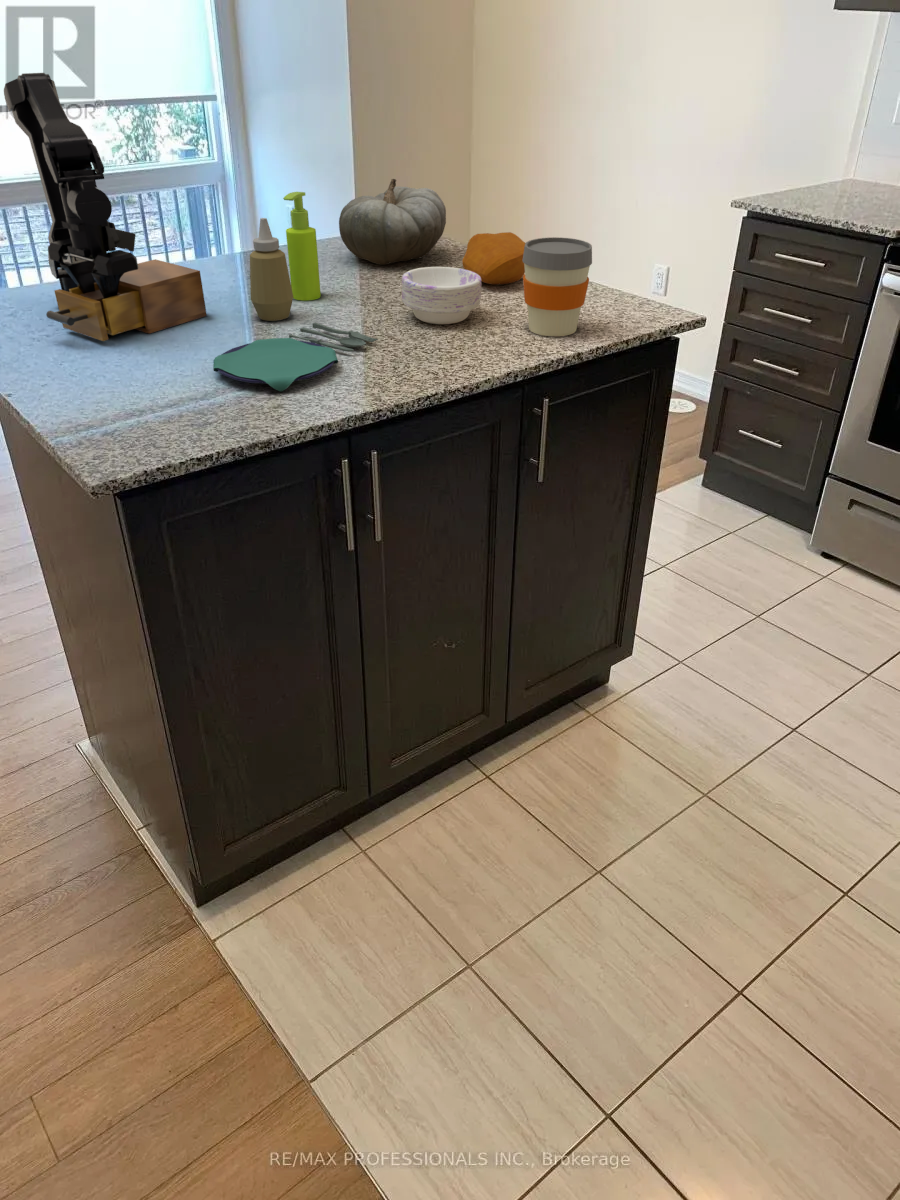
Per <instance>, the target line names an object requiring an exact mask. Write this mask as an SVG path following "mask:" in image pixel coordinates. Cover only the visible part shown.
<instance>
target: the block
mask: <svg viewBox="0 0 900 1200" xmlns="http://www.w3.org/2000/svg"><path fill="white" fill-rule="evenodd" d="M117 295H120V293H117ZM81 296H84V297H87V298H90V299H94V300H97V301H100V303H101V307H102V312H103V316H104V321H105V325H106V326H108V324H107V319H106V314H105V310H104V305H103V301H102V299H104V298H103V296H102V293H101V291H100V290H96V291H92V292H89V293H85V294H81Z"/></svg>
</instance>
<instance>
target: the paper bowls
mask: <svg viewBox="0 0 900 1200" xmlns="http://www.w3.org/2000/svg"><path fill="white" fill-rule="evenodd" d="M481 281H482V280H481V277H480V276H479V275H478V274H476V273H474V272H472V271H469V270H465V269H464V268H459V267H452V266H424V267H419V268H413V269H410V270H408V271H406V272H404V273H402V276H401V301H402V303H403V304H404V305H405V306H406V307H407V308H409V309H411V310H412V312H413V315H414V316H415V318H416V319H417V320H419V321H421V322H423V323H424V322H425V323H427V324H433V325H453V324H457V323H460V322H462V321H464V320H466V319H467V318H468V316H469V315H470V313H471V311H473V310H475V309H477V308H478V307H479V306H480V305H481V299H482V282H481Z"/></svg>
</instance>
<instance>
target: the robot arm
mask: <svg viewBox="0 0 900 1200" xmlns="http://www.w3.org/2000/svg"><path fill="white" fill-rule="evenodd" d="M3 96H4V100H5V103H6V107H7V109H8V111H9V112H12V116H13V119H14V122H15V124H16V125H17V126H18V127H19V129H21V131H22V132H23V133H24V134H25V135H26V136H27V137H28V140H29V142H30V146H31V150H32V153H33V157H34V161H35V164H36V165H35V166H36V167H37V172H38V175H39V179H40V182H41V186H42V189H43V194H44V196H45V200H46V203H47V208H48V211H49V213H50V214H49V215H50V218H51V225H50V230H49V233H48V237H47V239H48V244H49V245H48V246H47V260H48V266H49V269H50V272H51V275H52V276H53V277H54V278H55V279H56V280H59V285H60V289H61V290H64V291H68V292H70V291H69V289H72V288H76V287H79V288H80V290H81V291H82V293H83V294H85V293H89V292H92V291H95V287H94V283H97V285H98V287H99V289H100V291H101V293H102V296H103V298H104V299H105V298H109V297H113V296H117V293H118V286H119V281H120V278H121V277H122V275H123V274H124V273H126V272H129V271H133V270H137V269H138V263H139V262H138V257H137V256H135V255H134V254H133V253H131V252H135V244H136V233H135V232H132V231H131V232H130V231H126V230H121V229H117V228H116V225H115V223H114V222H110V221H108V220H110V217H111V216H112V211H113V205H112V202H111V200H110V198H109V196H108V195H107V194H106V193H105V192H104V191H103V190H101V189H99V188H98V186H97V182H96V181H98V180H105V175H104V173H105V166H104V164H103V160H102V158H101V156H100V154H99V151H98V149H97V146H96V145H94V142H93V140H92V139H91V138H88V136H87V134H86V133H85V131H84V129H83V128H82V127H81V126H80V125H79V124H76V123H74V122H72V121H70V119H69V118H68V116H67V114H66V112H65V110H64V108H63V106H62V104H61V102H60V97H59V94H58V90H57V87H56V83H55V81H54V79H52V78H51V76H50V74H49V73H45V72H29V73H27V72H25V73H21V74H20V75H17V78H15V79H13V80H10V81H8V82H6V83H5V84H4V87H3ZM117 248H118V249H119V250H117ZM121 249H122V250H121ZM125 250H128V251H125Z"/></svg>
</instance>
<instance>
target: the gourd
mask: <svg viewBox="0 0 900 1200" xmlns="http://www.w3.org/2000/svg"><path fill="white" fill-rule="evenodd" d="M390 180H391V181H390V182H389V185H388V188H387V189H386V190H385V191H384V192H381V193H378V194H377V195H376V196H373V195H362V196H358V197H356V198H353V199H351V200H350V201H349V202H347V203H346V204H345V205H344V207H343V208H342V209H341V211H340V214H339V218H338V229H339V236H340V238H341V240H342V242H343V244H344V246H345V247H346V248H347V249H348V251H349V252H350V253H351V254H352V255H353V256H355V257H356V258H358V259H361V260H365V261H368V262H370V263H373V264H377V265H380V266H381V265H382V266H386V265H388V264H389V265H390V264H392V263H398V262H407V261H411V260H418V259H421V258H423V257H425V256H427V255H428V254H429V253H430V252H431V251H432V250H433V248H434V247H435V246H436V244H437V243H438V241H439V240H440V239H441V238H442V236H443V234H444V232H445V227H446V223H447V209H446V205H445V203H444V201H443V199H442V198H441V197H440V196H439V194H438V193H437V191H435V190H434V189H431V188H428V187H421V188H415V187H408V186H399V185H398V186H397V179H396V178H391V179H390Z"/></svg>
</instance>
